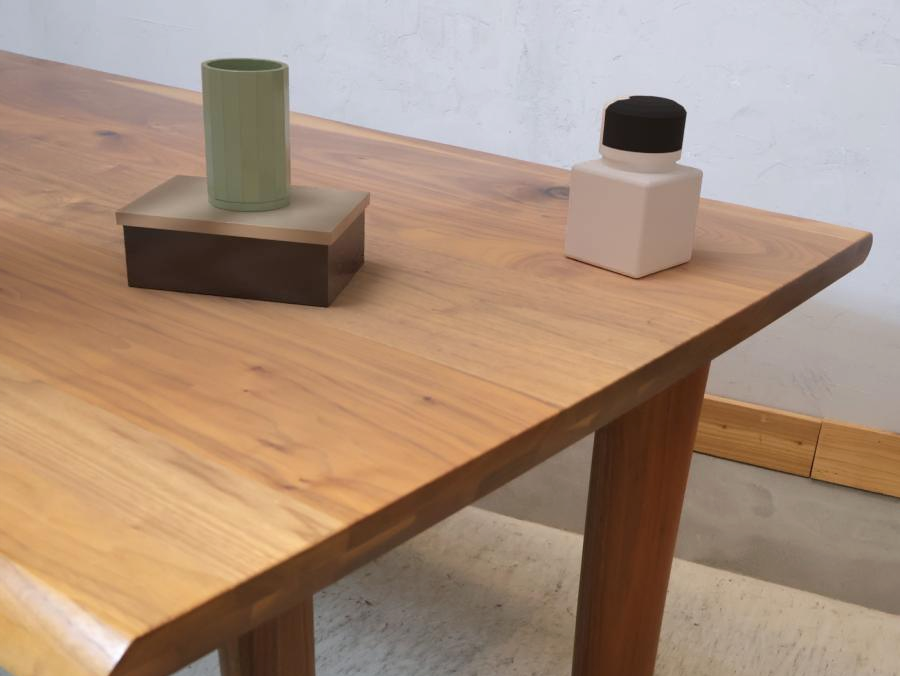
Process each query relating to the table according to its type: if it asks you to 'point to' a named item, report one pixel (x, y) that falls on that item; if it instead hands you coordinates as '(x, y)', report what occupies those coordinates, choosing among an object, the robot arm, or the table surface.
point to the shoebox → (245, 243)
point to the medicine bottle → (635, 191)
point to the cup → (247, 133)
